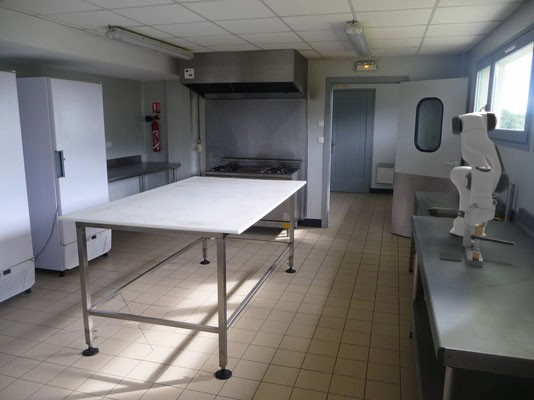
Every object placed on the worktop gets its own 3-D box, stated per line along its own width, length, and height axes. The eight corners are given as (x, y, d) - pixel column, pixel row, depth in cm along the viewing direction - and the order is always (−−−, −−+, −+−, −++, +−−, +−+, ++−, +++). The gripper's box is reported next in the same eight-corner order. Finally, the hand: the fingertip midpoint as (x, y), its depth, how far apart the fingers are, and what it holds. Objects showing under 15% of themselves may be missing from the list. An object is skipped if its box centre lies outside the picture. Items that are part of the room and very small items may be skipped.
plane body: (464, 251, 210) (466, 237, 209) (478, 252, 208) (479, 238, 207) (467, 266, 188) (469, 250, 187) (482, 268, 186) (484, 252, 184)
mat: (440, 253, 206) (440, 252, 206) (460, 255, 203) (460, 254, 203) (440, 259, 197) (440, 258, 197) (461, 261, 194) (461, 260, 194)
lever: (469, 238, 207) (470, 235, 206) (471, 237, 208) (471, 234, 208) (513, 245, 194) (514, 243, 194) (515, 244, 196) (515, 242, 196)
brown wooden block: (473, 231, 197) (473, 223, 196) (483, 233, 194) (484, 224, 193) (471, 234, 192) (472, 226, 191) (482, 236, 190) (483, 227, 189)
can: (480, 250, 212) (482, 227, 210) (464, 249, 213) (466, 226, 211) (476, 246, 219) (478, 223, 217) (460, 245, 221) (463, 223, 219)
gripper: (475, 206, 182) (472, 237, 185) (498, 200, 193) (495, 229, 196) (461, 204, 187) (458, 233, 190) (485, 198, 198) (482, 226, 201)
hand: (477, 231), depth 193 cm, fingers closed on brown wooden block, 7 cm apart
